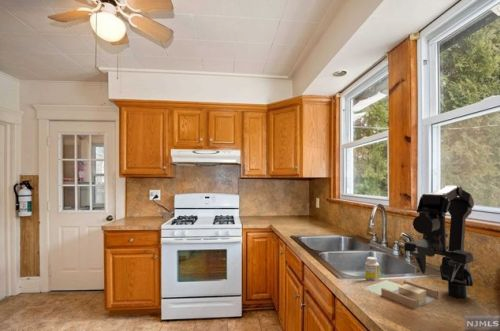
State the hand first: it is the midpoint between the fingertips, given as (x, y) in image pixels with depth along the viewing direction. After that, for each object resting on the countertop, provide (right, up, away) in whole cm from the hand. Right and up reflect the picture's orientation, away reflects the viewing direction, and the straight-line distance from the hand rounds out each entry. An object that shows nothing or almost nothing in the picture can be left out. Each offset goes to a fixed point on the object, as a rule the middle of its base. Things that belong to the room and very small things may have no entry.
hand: (436, 277), depth 90 cm
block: (-4, -11, +7) cm, 13 cm away
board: (-6, -13, +13) cm, 19 cm away
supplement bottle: (-9, -14, +28) cm, 32 cm away
